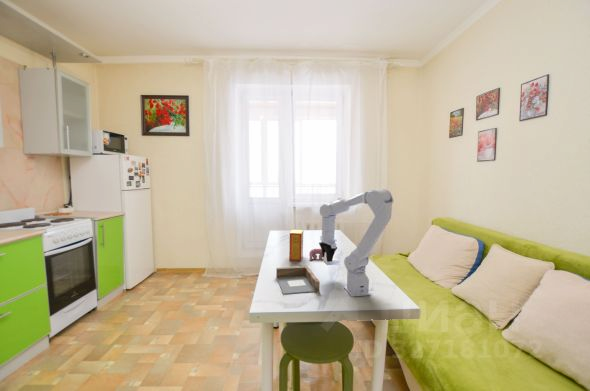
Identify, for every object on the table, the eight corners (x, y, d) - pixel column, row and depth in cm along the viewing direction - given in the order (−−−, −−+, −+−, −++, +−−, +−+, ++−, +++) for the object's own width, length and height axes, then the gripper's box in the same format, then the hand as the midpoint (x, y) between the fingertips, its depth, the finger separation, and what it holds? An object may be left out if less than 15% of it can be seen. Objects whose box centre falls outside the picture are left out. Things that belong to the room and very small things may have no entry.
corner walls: (319, 291, 106) (319, 281, 106) (283, 295, 103) (283, 284, 103) (307, 274, 124) (307, 265, 124) (276, 277, 121) (276, 268, 120)
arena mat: (318, 291, 107) (318, 290, 107) (283, 294, 103) (283, 293, 103) (307, 274, 124) (307, 273, 124) (276, 277, 121) (276, 275, 121)
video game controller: (326, 261, 149) (325, 249, 151) (327, 260, 144) (326, 247, 147) (309, 261, 148) (308, 249, 151) (309, 260, 144) (309, 247, 147)
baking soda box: (291, 255, 154) (292, 228, 153) (302, 255, 153) (303, 229, 152) (289, 260, 144) (289, 232, 143) (300, 261, 144) (301, 232, 142)
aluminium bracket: (327, 265, 116) (327, 254, 116) (323, 261, 121) (324, 251, 120) (339, 264, 118) (340, 253, 117) (335, 261, 122) (335, 250, 122)
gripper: (343, 233, 111) (342, 264, 112) (330, 226, 125) (329, 254, 126) (327, 234, 110) (327, 265, 111) (316, 227, 124) (315, 255, 125)
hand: (327, 259), depth 118 cm, fingers closed on aluminium bracket, 4 cm apart
